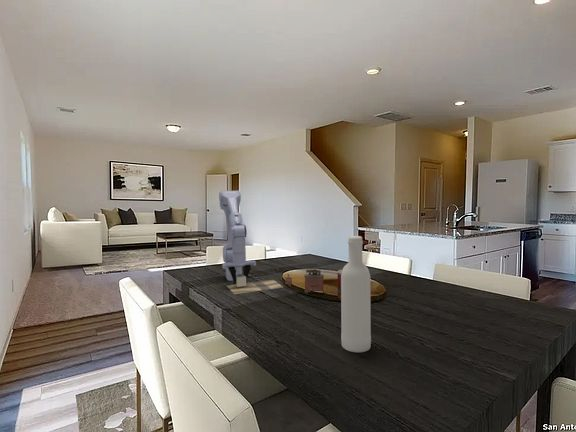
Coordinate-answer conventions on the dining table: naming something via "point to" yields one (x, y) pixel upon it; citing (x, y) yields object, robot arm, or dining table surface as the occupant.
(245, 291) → the subfloor panel
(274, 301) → the dining table surface
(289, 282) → the awl
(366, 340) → the bottle
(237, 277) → the block
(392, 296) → the dining table surface
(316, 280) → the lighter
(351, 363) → the dining table surface
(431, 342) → the dining table surface
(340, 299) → the canned food
